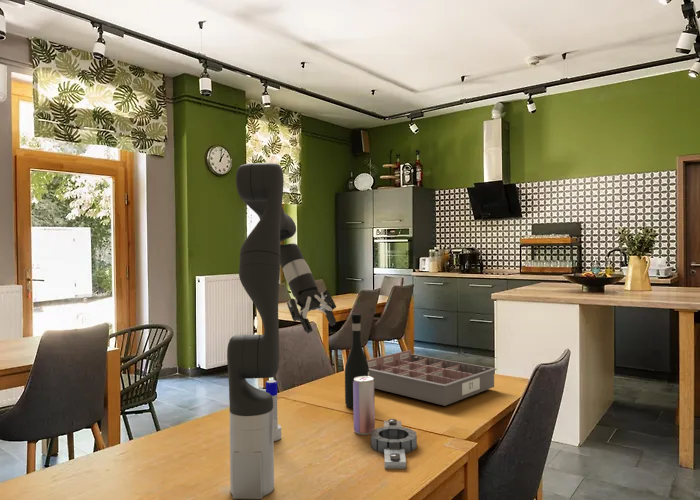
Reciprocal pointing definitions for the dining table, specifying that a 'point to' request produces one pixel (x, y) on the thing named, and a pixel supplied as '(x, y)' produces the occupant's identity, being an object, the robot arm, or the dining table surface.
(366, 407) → the beverage can
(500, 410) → the dining table surface
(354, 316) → the wine bottle
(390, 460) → the pipe clamp bracket
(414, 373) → the organizer tray
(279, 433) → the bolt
